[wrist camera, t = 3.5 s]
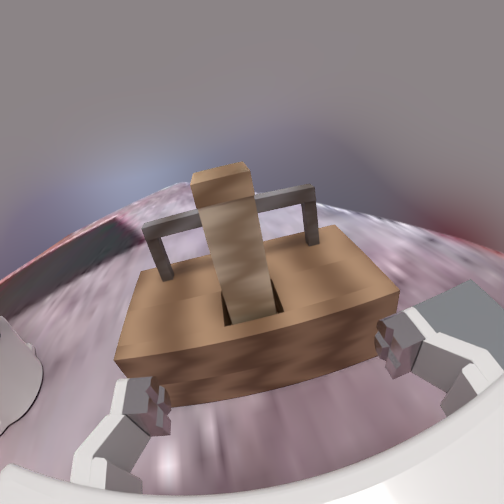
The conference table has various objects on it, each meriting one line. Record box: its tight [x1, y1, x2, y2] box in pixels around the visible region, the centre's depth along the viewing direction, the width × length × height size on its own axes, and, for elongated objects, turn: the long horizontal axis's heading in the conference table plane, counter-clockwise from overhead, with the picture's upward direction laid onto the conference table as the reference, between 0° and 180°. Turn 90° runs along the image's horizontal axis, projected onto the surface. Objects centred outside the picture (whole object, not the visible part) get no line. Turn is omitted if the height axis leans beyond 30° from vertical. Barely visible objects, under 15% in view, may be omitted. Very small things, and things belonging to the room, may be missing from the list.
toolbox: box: [114, 184, 400, 407], centre depth 26 cm, size 24×14×14 cm, turn 99°
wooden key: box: [190, 162, 276, 325], centre depth 21 cm, size 4×4×15 cm
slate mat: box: [400, 279, 504, 371], centre depth 22 cm, size 14×14×1 cm
